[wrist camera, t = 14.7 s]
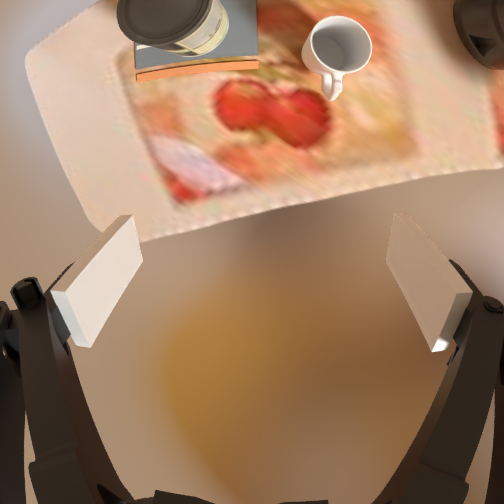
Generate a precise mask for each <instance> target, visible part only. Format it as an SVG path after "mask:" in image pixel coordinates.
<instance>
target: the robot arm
mask: <svg viewBox="0 0 504 504" xmlns="http://www.w3.org/2000/svg"><path fill="white" fill-rule="evenodd" d="M454 21H455V25H456V28H457V31H458V34H459V36H460V38H461V40H462V42H463V43H464V45H465V47H466V48H467V50H468V51H469V52H470V53H471V55H472V56H473V57H474V58H475V59H476V60H477V61H479V62H480V63H481V64H483V65H484V66H486V67H488V68H490V69H494V70H504V0H456V1H455V4H454ZM385 261H386V263H387V265H388V267H389V268H390V270H391V272H392V274H393V276H394V277H395V279H396V281H397V283H398V285H399V287H400V289H401V290H402V292H403V294H404V296H405V298H406V300H407V302H408V304H409V306H410V308H411V309H412V312H413V314H414V316H415V318H416V320H417V322H418V324H419V326H420V328H421V330H422V332H423V334H424V336H425V339H426V340H427V343H428V345H429V347H430V349H431V351H432V352H434V351H440V350H447V349H448V347H449V345H450V343H451V341H452V339H454V340H455V342H456V344H457V346H456V348H455V350H454V352H453V354H452V356H451V357H450V359H449V361H448V363H447V365H448V368H447V370H446V373H445V375H444V378H443V380H442V383H441V385H440V387H439V390H438V392H437V394H436V396H435V399H434V401H433V403H432V405H431V407H430V409H429V412H428V414H427V415H426V418H425V420H424V422H423V424H422V426H421V428H420V430H419V431H418V433H417V435H416V437H415V439H414V440H413V442H412V444H411V446H410V448H409V449H408V451H407V453H406V455H405V456H404V458H403V460H402V461H401V463H400V465H399V466H398V468H397V470H396V471H395V473H394V474H393V476H392V477H391V479H390V481H389V482H388V483H387V485H386V487H385V488H384V489H383V491H382V492H381V493H380V495H379V496H378V497H377V498H376V499H375V501H373V503H372V504H463V502H464V500H465V498H466V496H467V493H468V490H469V484H468V483H466V482H465V478H466V475H467V472H468V470H469V467H470V465H471V462H472V460H473V457H474V455H475V452H476V449H477V446H478V444H479V441H480V438H481V435H482V432H483V428H484V425H485V422H486V419H487V415H488V412H489V408H490V404H491V400H492V396H493V392H494V388H495V420H494V438H493V451H492V461H491V469H490V476H489V483H488V489H487V495H486V500H485V504H504V306H503V304H501V302H499V301H498V300H497V299H495V298H492V297H489V296H483V295H482V294H481V292H480V291H479V290H478V288H477V287H476V286H475V285H474V283H473V282H472V281H471V280H470V278H469V277H468V276H467V274H465V272H464V271H463V269H462V268H461V267H460V266H459V265H458V264H456V263H454V261H452V260H448V259H447V258H446V257H445V256H444V255H443V254H442V252H441V251H440V250H439V249H438V247H437V246H436V245H435V244H434V243H433V242H432V241H431V239H430V238H429V237H428V236H427V235H426V234H425V233H424V231H423V230H422V229H421V228H420V227H419V226H418V225H417V224H416V223H415V221H414V220H413V219H412V218H411V217H410V216H409V215H408V214H407V213H394V215H393V221H392V228H391V233H390V239H389V244H388V250H387V255H386V260H385ZM142 262H143V259H142V255H141V251H140V246H139V241H138V237H137V232H136V227H135V222H134V217H133V215H121V216H119V217H118V218H117V219H116V220H115V221H114V222H113V223H112V224H111V225H110V226H109V227H108V228H107V229H106V230H105V231H104V232H103V233H102V234H101V235H100V236H99V237H98V238H97V240H95V241H94V242H93V244H92V245H91V246H90V247H89V248H88V249H87V250H86V251H85V252H84V253H83V254H82V255H81V256H80V257H79V258H78V259H77V261H75V262H74V263H72V264H71V265H70V266H68V267H67V268H66V269H65V270H64V271H63V272H62V275H60V276H59V277H58V278H57V280H55V281H54V282H53V284H52V285H51V286H50V287H49V288H48V289H47V291H46V292H45V293H43V291H42V289H41V286H40V284H39V282H38V280H37V278H35V277H28V278H25V279H23V280H21V281H19V282H18V283H16V284H15V285H14V286H13V287H12V289H11V291H10V293H11V295H12V297H13V299H14V301H15V303H16V305H17V307H18V309H17V310H11V311H10V310H9V308H8V306H7V304H6V302H4V301H0V504H26V493H25V477H24V428H25V412H26V414H27V419H28V425H29V431H30V435H31V440H32V445H33V449H34V453H35V458H36V459H35V461H34V462H31V463H30V464H29V467H28V468H29V474H30V478H31V482H32V485H33V488H34V492H35V495H36V498H37V501H38V504H214V503H211V502H208V501H205V500H203V499H200V498H197V497H192V496H186V495H180V494H174V493H169V492H164V491H159V490H155V494H154V497H149V498H142V499H137V500H134V498H133V497H132V496H131V494H130V493H129V492H128V490H127V489H126V488H125V487H124V485H123V484H122V482H121V481H120V479H119V477H118V475H117V473H116V471H115V469H114V467H113V465H112V463H111V461H110V459H109V456H108V454H107V452H106V450H105V447H104V445H103V443H102V441H101V438H100V436H99V433H98V431H97V428H96V426H95V423H94V421H93V418H92V416H91V413H90V411H89V407H88V405H87V402H86V399H85V396H84V393H83V391H82V387H81V384H80V381H79V378H78V374H77V371H76V368H75V365H74V361H73V357H72V354H71V350H70V347H69V345H68V343H67V339H68V338H69V336H70V335H71V336H72V338H73V340H74V342H75V344H76V345H78V346H84V347H89V348H90V347H91V346H92V344H93V342H94V341H95V339H96V337H97V335H98V334H99V332H100V330H101V328H102V327H103V325H104V323H105V322H106V320H107V318H108V316H109V315H110V313H111V311H112V310H113V308H114V306H115V305H116V303H117V301H118V300H119V298H120V297H121V295H122V293H123V292H124V290H125V289H126V287H127V285H128V284H129V282H130V280H131V279H132V277H133V276H134V274H135V273H136V271H137V269H138V268H139V266H140V265H141V263H142ZM3 351H4V353H5V356H4V354H3ZM280 504H328V500H321V501H306V502H285V503H280Z"/></svg>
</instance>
